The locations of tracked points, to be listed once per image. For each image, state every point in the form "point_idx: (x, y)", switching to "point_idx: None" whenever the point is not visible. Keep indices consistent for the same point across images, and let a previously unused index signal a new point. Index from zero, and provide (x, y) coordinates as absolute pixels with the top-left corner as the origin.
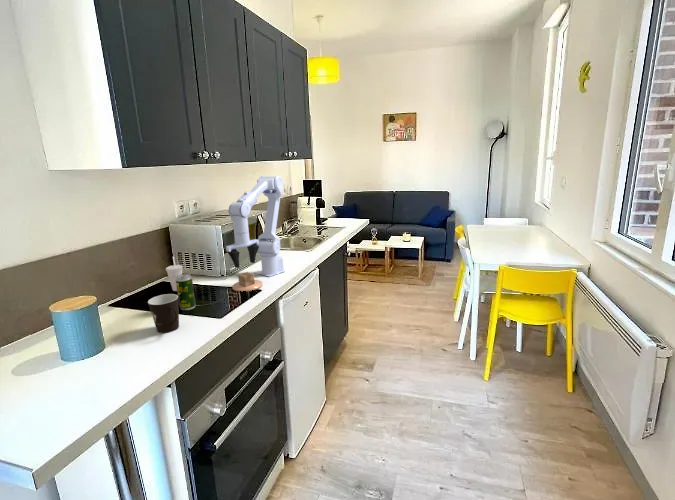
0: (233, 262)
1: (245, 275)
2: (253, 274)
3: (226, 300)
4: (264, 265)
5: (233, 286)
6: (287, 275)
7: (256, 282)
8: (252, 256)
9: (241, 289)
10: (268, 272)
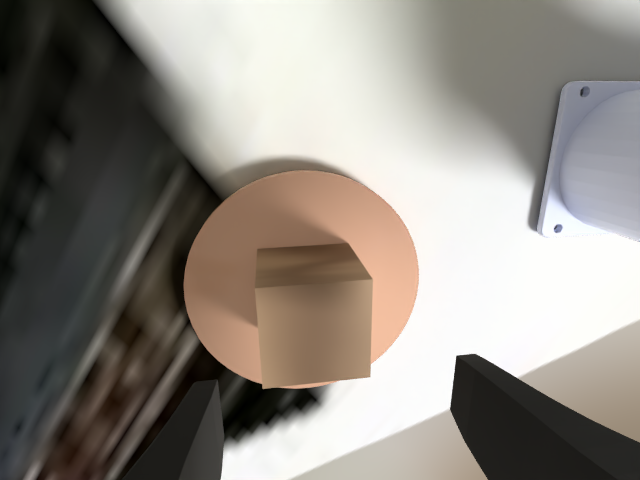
0: (163, 432)
1: (288, 365)
2: (363, 373)
3: (50, 395)
4: (634, 193)
5: (203, 243)
6: (614, 302)
7: (375, 306)
8: (509, 477)
9: (211, 347)
10: (581, 209)
